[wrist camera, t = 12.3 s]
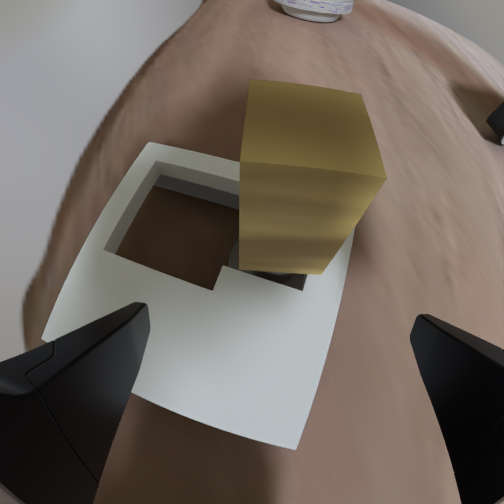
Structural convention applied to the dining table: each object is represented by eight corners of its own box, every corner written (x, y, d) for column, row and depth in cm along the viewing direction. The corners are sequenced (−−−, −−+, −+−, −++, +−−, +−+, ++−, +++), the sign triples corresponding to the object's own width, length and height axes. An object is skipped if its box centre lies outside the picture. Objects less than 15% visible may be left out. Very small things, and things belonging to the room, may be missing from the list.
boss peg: (311, 315, 19) (417, 206, 7) (225, 310, 19) (203, 183, 7) (310, 238, 21) (375, 87, 9) (232, 232, 21) (229, 68, 9)
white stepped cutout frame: (283, 435, 15) (295, 450, 12) (74, 348, 17) (41, 338, 13) (340, 230, 22) (359, 199, 18) (159, 176, 23) (148, 141, 19)
